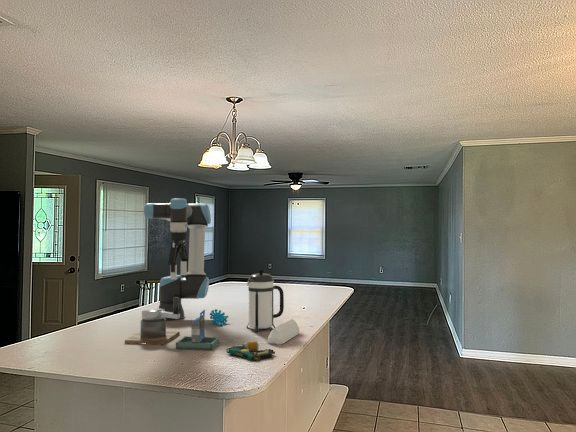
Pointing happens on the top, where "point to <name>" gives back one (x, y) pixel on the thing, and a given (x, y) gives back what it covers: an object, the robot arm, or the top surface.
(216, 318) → the gear
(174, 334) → the stand
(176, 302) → the crank
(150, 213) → the robot arm
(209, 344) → the tray
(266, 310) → the coffee press
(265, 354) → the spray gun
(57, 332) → the top surface
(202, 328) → the label tape cartridge
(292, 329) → the white faceted wedge
